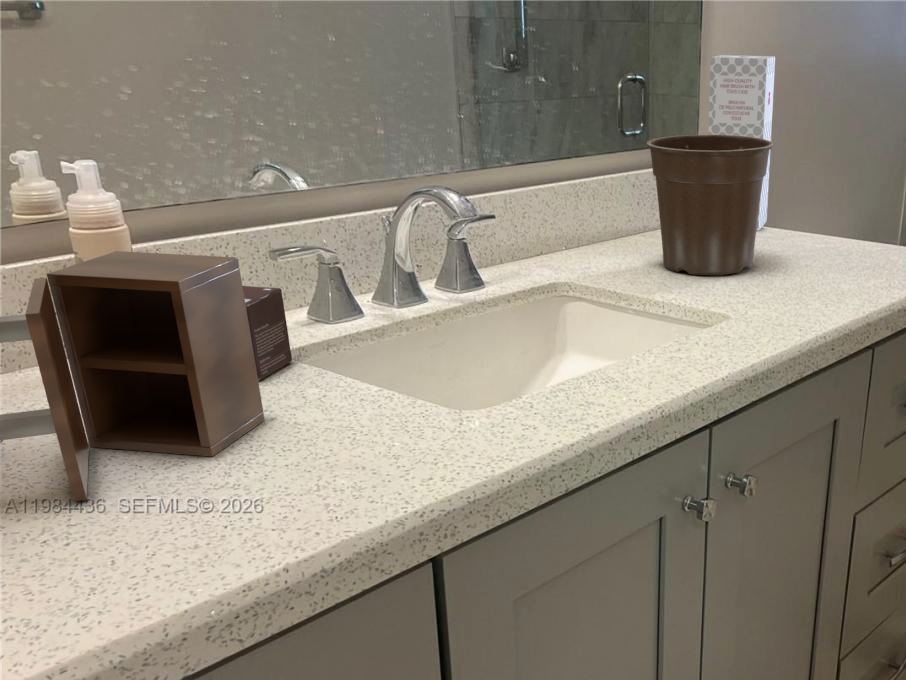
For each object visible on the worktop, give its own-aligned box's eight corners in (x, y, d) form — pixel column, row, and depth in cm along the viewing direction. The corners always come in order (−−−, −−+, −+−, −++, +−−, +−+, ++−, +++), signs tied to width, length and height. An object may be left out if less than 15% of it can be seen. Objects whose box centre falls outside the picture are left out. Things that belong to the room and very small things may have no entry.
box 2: (705, 227, 165) (710, 57, 155) (716, 218, 173) (721, 55, 162) (758, 230, 164) (766, 58, 153) (766, 221, 171) (775, 56, 160)
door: (-31, 518, 70) (-92, 324, 64) (-16, 462, 78) (-69, 286, 72) (87, 499, 72) (39, 312, 67) (88, 447, 81) (46, 277, 75)
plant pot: (668, 284, 132) (670, 150, 125) (631, 256, 145) (631, 135, 138) (785, 276, 136) (793, 147, 129) (739, 250, 150) (744, 133, 143)
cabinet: (212, 457, 80) (178, 281, 74) (89, 447, 81) (46, 273, 75) (265, 420, 87) (238, 257, 81) (151, 411, 88) (116, 250, 82)
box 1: (238, 357, 102) (225, 283, 99) (294, 362, 101) (283, 287, 98) (201, 377, 97) (186, 299, 93) (259, 382, 96) (246, 303, 92)
